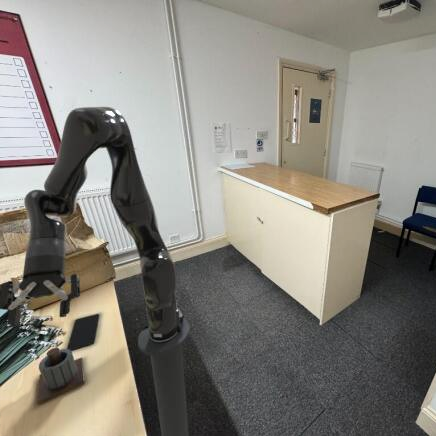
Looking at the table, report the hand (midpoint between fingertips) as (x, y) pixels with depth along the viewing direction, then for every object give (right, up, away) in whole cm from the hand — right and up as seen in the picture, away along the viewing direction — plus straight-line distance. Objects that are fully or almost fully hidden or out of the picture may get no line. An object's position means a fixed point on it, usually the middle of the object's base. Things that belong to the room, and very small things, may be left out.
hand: (39, 321), depth 57 cm
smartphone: (-10, -15, +24) cm, 30 cm away
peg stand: (-3, -21, +9) cm, 23 cm away
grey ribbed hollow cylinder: (-3, -19, +8) cm, 21 cm away
